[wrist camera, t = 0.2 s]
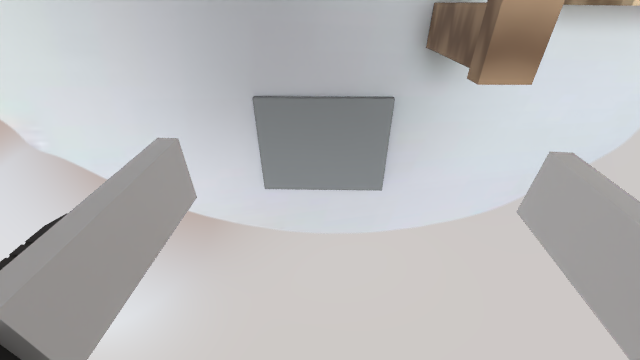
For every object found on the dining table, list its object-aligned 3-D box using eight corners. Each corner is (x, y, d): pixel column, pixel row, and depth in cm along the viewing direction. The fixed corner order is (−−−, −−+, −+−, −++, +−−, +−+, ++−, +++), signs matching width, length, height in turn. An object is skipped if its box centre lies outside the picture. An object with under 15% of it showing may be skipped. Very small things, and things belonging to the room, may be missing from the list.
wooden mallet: (435, -7, 30) (505, -12, 18) (474, -7, 30) (569, -12, 18) (424, 54, 33) (477, 84, 21) (459, 54, 33) (531, 84, 21)
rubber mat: (254, 96, 36) (252, 98, 36) (393, 97, 36) (394, 98, 35) (265, 185, 44) (264, 188, 43) (381, 187, 43) (381, 190, 43)
